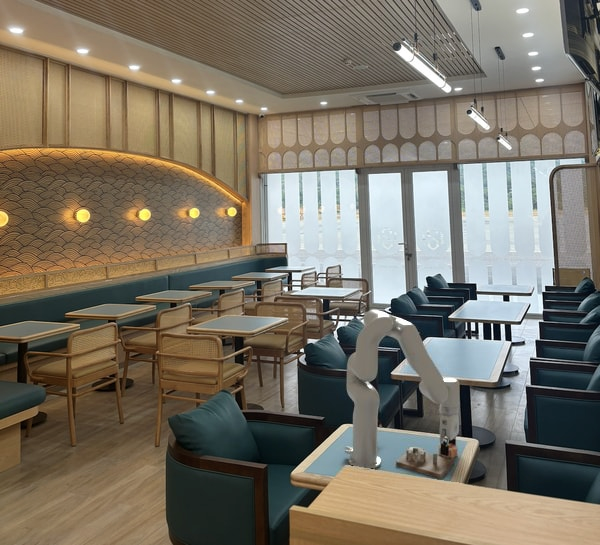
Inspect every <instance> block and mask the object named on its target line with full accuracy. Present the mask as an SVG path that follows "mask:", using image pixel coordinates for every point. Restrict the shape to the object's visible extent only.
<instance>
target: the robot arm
mask: <svg viewBox="0 0 600 545" xmlns="http://www.w3.org/2000/svg"><path fill="white" fill-rule="evenodd" d="M363 323H364V325H365V326H364V327H363V328H362V329H361V330H360V332H359V333H358V336H357V337H356V344H355V352H353V353H352V354H351V355H349V358H348V360H347V364H346V392H347V395H348V396H349V398H350V399H351V400H352V402H353V403H354V408H353V413H352V447H351V446H348V445H346V446H344V447H345V448H344V454H347V455H349V458H348V463H349V465H350V466H352V465H353V466H359V467H364V468H373V469H372V470H374V469H377V468H378V467H380V466H381V464H382V459H381V457H379V456H378V424H377V420H378V417H379V416H378V414H379V407H380V395H379V392H378V391H377V389H376V388H375V387H374V386H373V385H372V384H371V383H370V382H372V381H373V380H375V379H376V378H377V375H378V368H379V367H378V365H379V363H378V359H379V357H378V356H379V354H378V353H379V344H380V342H381V341H382V339H384V338H385V337H386V336H388V337H391V338H393V339H395V340H397V343H399V346H400V348H401V350H402V353H403V355H404V356H405V359H406V361H407V363H408V365H409V366H410V368H412V370H413V371H414V372H415V373H416V374H417V375H418V377H420V379H421V380H420V382H419V384H418V388H419V391H420V393H421V394H422V395H424V396H425V397H426V398H427V399H429V400H430V401H431V402H433V403H435V404H437V405H438V404H439V411H438V412H439V413H440V418H439V420H440V421H439V441H440V442H439V444H440V445H441V450H440V454H442V455H445V456H448V455H449V446H448V443H449V444H450V443H451V444H453V445H455V446H457V436H458V435H459V433H460V420H459V416H460V415H459V413H460V382H459V380H458V379H456V378H453V377H444V378H443V376H442V374H441V372H440V370H439V369H438V367H437V366H436V364H435V363H434V361H433V359H432V358H431V356H430V355H429V353H428V351H427V349H426V346H425V345H424V342H423V340H422V337H421V336H420V333H419V331H418V329H417V327H416V325H415V324H413V323H412V322H410V321H407V320H405V319H403V318H401V317H397V316H394V315H392V314H389V313H387V312H384V311H382V310H379V309H370V310H368V311H367V312H366V313H365V315H364V317H363ZM445 440H446V441H445ZM442 455H441V456H442ZM353 466H352V467H353Z"/></svg>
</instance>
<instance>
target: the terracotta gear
mask: <svg viewBox="0 0 600 545" xmlns="http://www.w3.org/2000/svg"><path fill="white" fill-rule="evenodd" d="M448 446H449V455H448V456H445V455H442V454H440V450H441V445H440V443H439V444H438V455H439V456H441V457H444V458H447V459H453V458H456V457H455V456H457V457H458V445H456V446H455V445H453V444H451V443H450V444H449V443H448ZM449 457H450V458H449Z"/></svg>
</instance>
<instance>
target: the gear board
mask: <svg viewBox="0 0 600 545" xmlns="http://www.w3.org/2000/svg"><path fill="white" fill-rule="evenodd" d="M453 464H454V465H455V460H454V459H452V458H448V457H446V458H445V457H444V456H441V455H439V456H438V453H437V452H433V453H428V452H427V451H426V450H425V449H424V448H423V447H418V446H414V447H411V446H409V447H408V448H407V449H406V452H405V453H404V454H403V455H402V456H401V457H399V458H398V459H397V460H396V461H395V465H396V466H397V467H401V468H405V469H407V470H411V471H414V472H417V473H422V474H425V475H427V476H431V475H432V477H435V478H438V479H442V478H443V477H444V475H445V474H446V473H447V472H448V471H449V470H450V469H451V468H452V467H453V466H454V465H453ZM452 465H453V466H452ZM451 466H452V467H451Z"/></svg>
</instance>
